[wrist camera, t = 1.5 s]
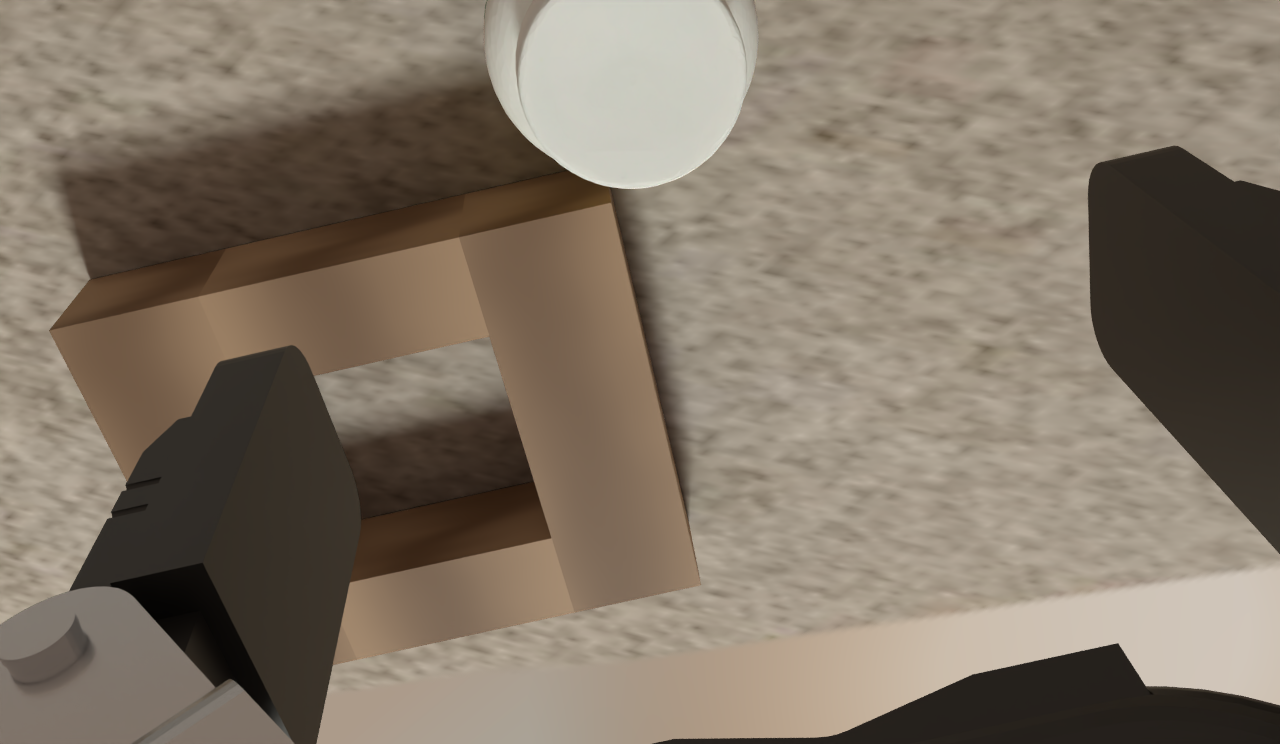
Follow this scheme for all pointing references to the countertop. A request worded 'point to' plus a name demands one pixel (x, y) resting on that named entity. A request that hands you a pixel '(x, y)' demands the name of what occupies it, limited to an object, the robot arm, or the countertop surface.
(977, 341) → the countertop surface
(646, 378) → the socket board
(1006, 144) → the countertop surface
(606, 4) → the supplement bottle
